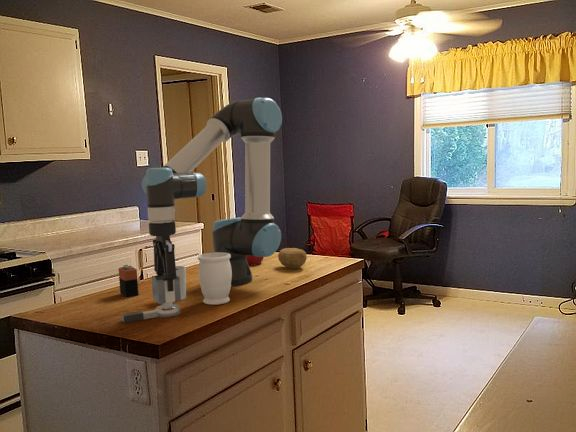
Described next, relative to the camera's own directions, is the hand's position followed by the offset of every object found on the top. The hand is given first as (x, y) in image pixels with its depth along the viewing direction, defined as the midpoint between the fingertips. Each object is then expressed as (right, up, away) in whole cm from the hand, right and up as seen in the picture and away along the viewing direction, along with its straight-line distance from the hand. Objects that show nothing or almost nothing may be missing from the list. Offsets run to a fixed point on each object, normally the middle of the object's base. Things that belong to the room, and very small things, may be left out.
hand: (166, 299), depth 161 cm
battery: (-18, -3, +26) cm, 32 cm away
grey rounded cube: (0, 0, 0) cm, 0 cm away
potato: (+37, +3, +59) cm, 70 cm away
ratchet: (-4, -5, -2) cm, 7 cm away
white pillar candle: (-1, -3, +18) cm, 19 cm away
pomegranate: (+21, +4, +70) cm, 73 cm away
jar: (+13, -3, +12) cm, 18 cm away
